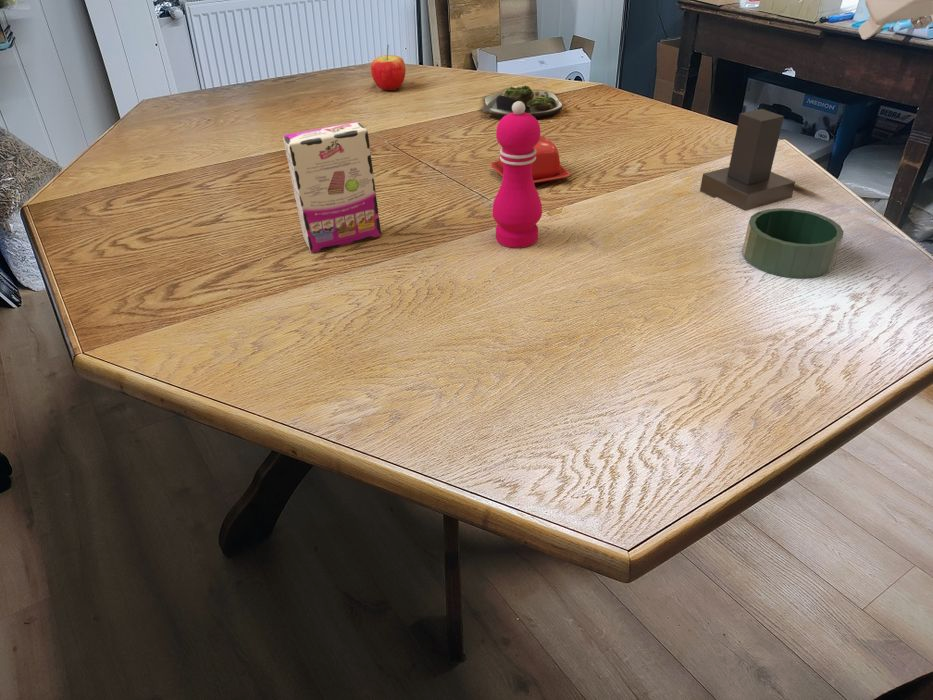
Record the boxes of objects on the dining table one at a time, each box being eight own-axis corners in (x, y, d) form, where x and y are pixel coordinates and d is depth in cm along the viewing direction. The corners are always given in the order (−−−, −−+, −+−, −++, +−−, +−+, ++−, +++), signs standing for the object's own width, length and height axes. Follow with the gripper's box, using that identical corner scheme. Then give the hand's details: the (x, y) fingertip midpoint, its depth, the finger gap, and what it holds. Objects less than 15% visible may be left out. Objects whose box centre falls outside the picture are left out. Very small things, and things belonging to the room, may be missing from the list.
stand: (745, 178, 117) (748, 161, 115) (791, 199, 110) (795, 181, 108) (699, 190, 114) (702, 173, 112) (744, 212, 106) (748, 194, 105)
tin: (784, 233, 100) (792, 201, 97) (852, 267, 92) (863, 233, 89) (723, 252, 96) (730, 219, 93) (788, 289, 88) (798, 254, 85)
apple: (410, 84, 172) (407, 42, 166) (401, 94, 165) (398, 50, 159) (379, 84, 173) (374, 42, 167) (369, 93, 167) (364, 50, 161)
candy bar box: (371, 224, 107) (358, 119, 98) (382, 237, 103) (369, 129, 94) (301, 240, 103) (280, 133, 94) (310, 254, 100) (289, 143, 90)
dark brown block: (748, 170, 112) (761, 108, 107) (769, 179, 109) (784, 116, 103) (727, 175, 111) (739, 113, 105) (747, 184, 108) (761, 121, 102)
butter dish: (573, 182, 118) (576, 133, 113) (512, 193, 115) (512, 143, 110) (545, 160, 127) (546, 114, 122) (487, 170, 124) (486, 123, 119)
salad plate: (476, 97, 161) (476, 76, 159) (551, 93, 162) (552, 73, 159) (483, 123, 146) (483, 101, 143) (566, 118, 146) (567, 96, 144)
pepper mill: (534, 252, 98) (538, 111, 86) (486, 246, 100) (484, 107, 88) (546, 230, 104) (551, 95, 92) (500, 225, 106) (500, 92, 94)
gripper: (1049, -89, 76) (935, -4, 89) (927, -74, 69) (822, 16, 82) (1074, -40, 76) (955, 39, 89) (953, -20, 69) (843, 63, 82)
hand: (890, 28), depth 85 cm, fingers open, 8 cm apart
